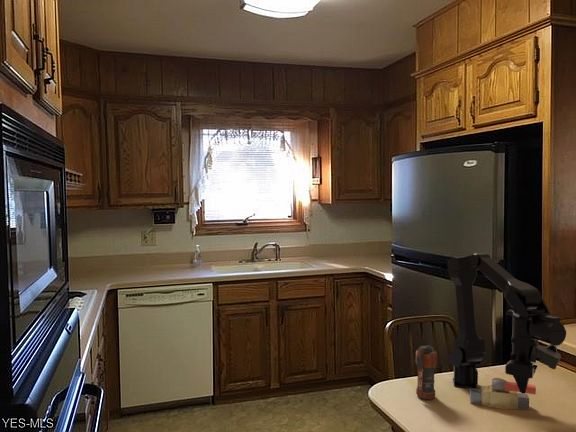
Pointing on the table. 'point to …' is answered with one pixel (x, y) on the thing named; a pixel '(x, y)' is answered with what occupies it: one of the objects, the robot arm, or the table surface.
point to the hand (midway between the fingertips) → (523, 392)
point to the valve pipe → (499, 398)
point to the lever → (510, 386)
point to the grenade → (426, 372)
